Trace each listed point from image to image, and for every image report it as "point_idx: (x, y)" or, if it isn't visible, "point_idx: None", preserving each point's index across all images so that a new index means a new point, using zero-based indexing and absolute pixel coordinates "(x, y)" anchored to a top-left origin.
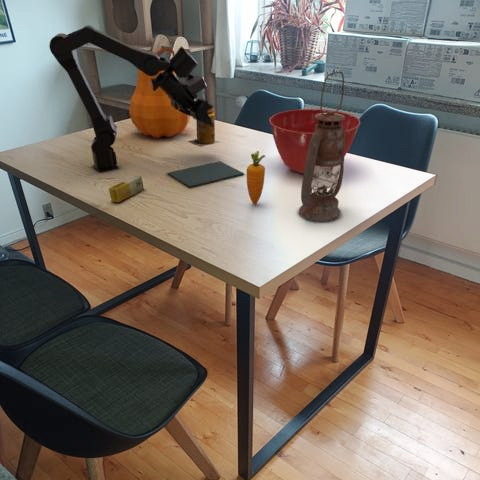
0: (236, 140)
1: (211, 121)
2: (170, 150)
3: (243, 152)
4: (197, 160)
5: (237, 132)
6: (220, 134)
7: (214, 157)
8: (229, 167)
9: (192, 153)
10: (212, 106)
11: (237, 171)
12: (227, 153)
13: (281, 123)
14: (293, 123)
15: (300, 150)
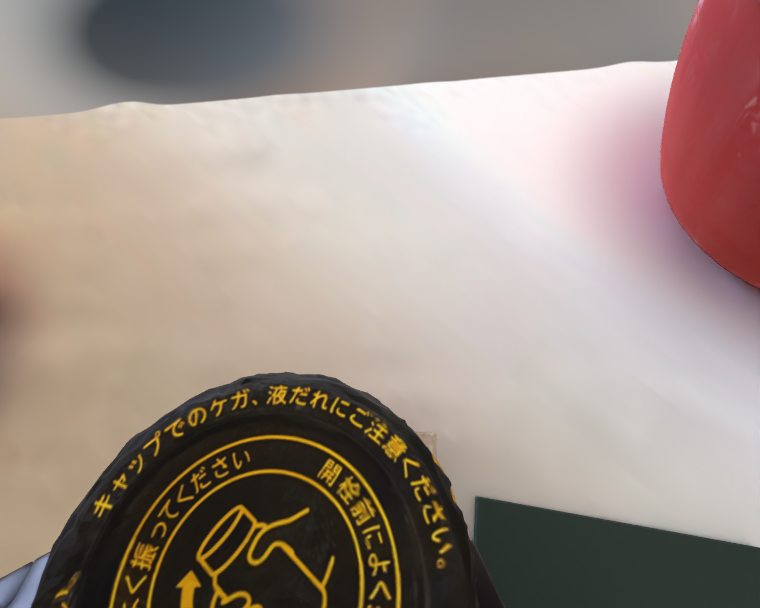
0: (269, 200)
1: (484, 570)
2: None
3: (419, 282)
4: None
5: (202, 139)
6: (154, 195)
7: None
8: (619, 541)
9: None
10: (444, 480)
11: (718, 559)
12: (376, 348)
13: (728, 73)
14: (693, 29)
15: None
